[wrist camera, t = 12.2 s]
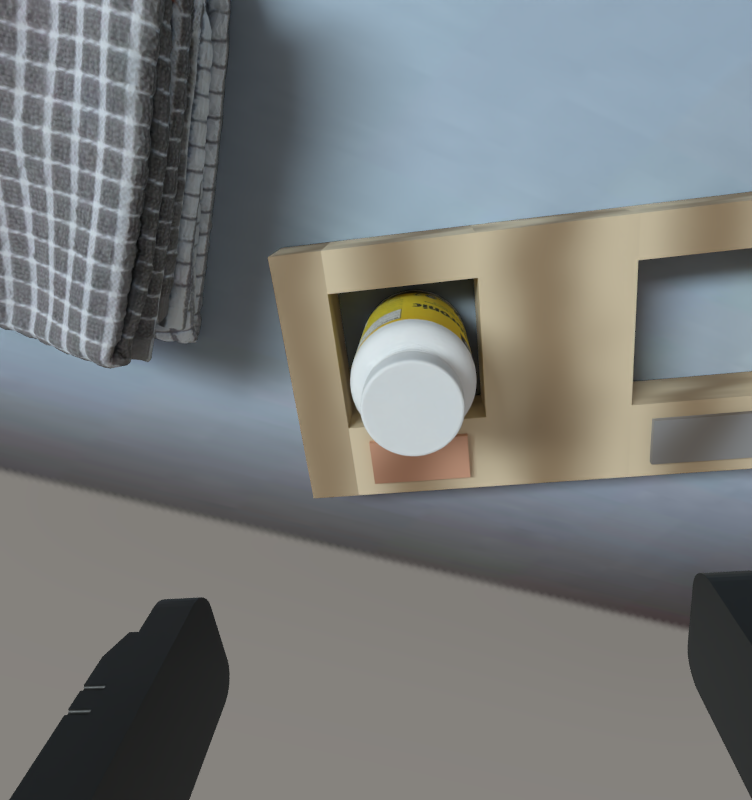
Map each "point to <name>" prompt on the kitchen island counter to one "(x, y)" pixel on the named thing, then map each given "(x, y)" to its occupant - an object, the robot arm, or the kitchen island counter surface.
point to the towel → (108, 170)
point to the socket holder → (522, 351)
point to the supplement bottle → (413, 373)
